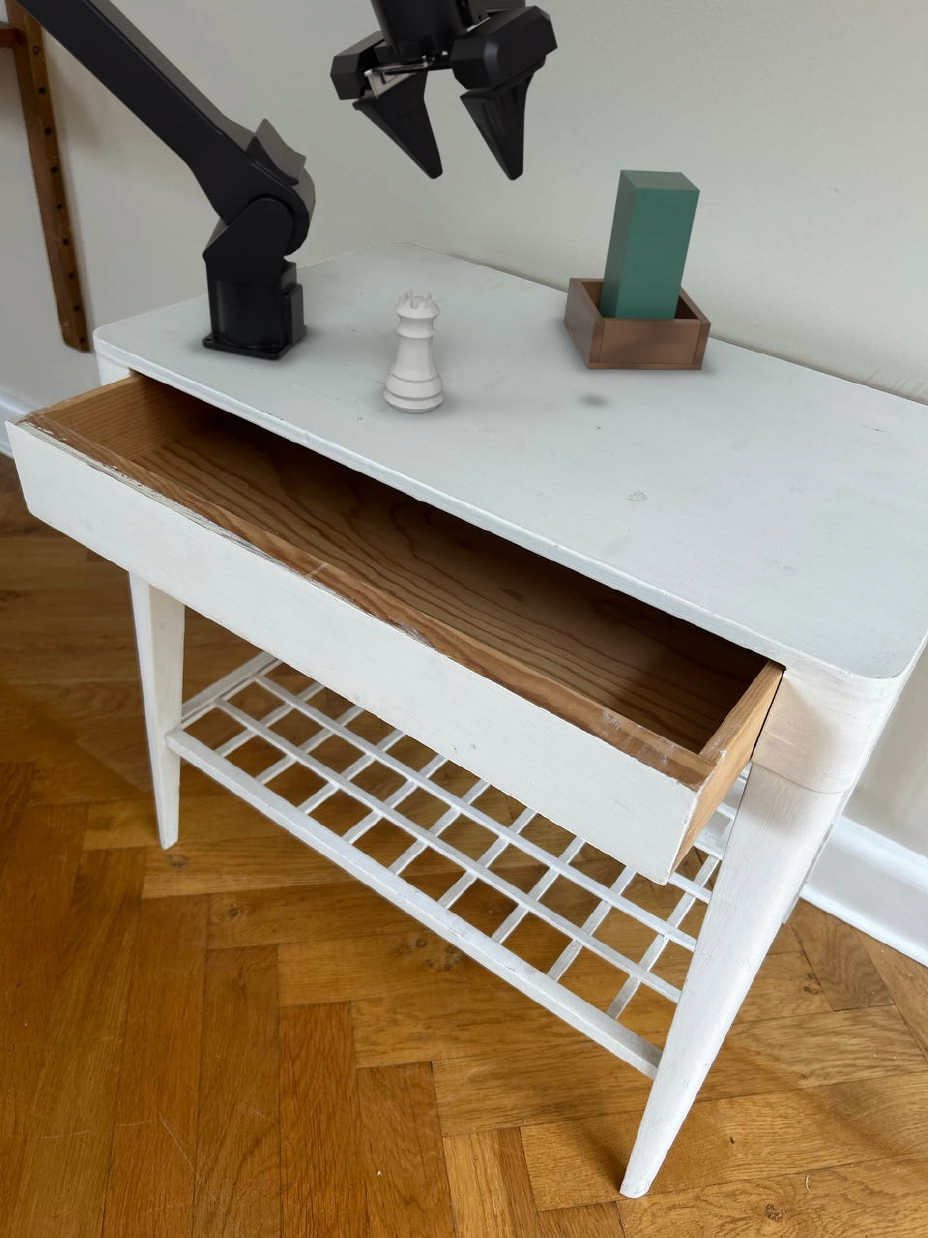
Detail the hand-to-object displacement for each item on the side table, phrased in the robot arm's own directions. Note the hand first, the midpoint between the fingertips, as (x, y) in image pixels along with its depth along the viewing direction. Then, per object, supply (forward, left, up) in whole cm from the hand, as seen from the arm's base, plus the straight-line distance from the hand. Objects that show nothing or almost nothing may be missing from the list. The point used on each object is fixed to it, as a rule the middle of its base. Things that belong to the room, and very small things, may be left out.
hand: (475, 177), depth 75 cm
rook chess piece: (-1, -11, -14) cm, 18 cm away
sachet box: (+13, +6, -13) cm, 19 cm away
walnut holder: (+13, +6, -13) cm, 20 cm away
